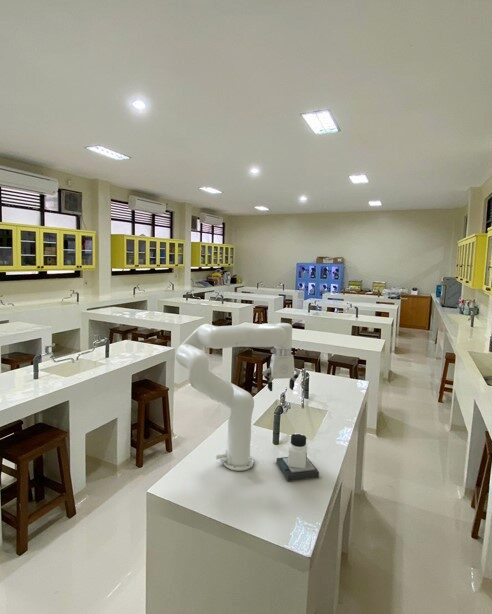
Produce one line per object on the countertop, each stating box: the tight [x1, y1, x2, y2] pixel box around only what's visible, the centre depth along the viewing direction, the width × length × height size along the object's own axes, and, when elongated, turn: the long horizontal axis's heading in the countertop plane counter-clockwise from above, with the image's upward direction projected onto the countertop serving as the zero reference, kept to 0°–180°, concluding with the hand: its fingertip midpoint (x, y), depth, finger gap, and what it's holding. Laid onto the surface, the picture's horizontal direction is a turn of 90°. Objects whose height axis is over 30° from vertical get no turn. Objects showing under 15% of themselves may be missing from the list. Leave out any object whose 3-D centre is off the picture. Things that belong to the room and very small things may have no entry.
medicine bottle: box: [287, 432, 308, 469], centre depth 152 cm, size 7×7×12 cm
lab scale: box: [275, 456, 320, 482], centre depth 153 cm, size 13×13×3 cm
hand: (280, 389), depth 165 cm, fingers open, 9 cm apart
